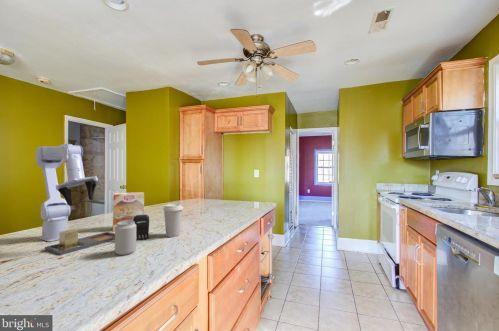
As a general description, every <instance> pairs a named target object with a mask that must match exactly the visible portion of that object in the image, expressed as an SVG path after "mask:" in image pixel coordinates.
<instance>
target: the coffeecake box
mask: <svg viewBox="0 0 499 331" xmlns="http://www.w3.org/2000/svg"><path fill="white" fill-rule="evenodd" d="M112 195H113V198H112V202H113V204H112V232H115V227H116V226H117V223H119V222H123V221H133V217H134V216H135V215H141V214H145V192H144V191H141V192H140V191H139V192H137V191H136V192H116V193H115V192H114V193H113V194H112Z"/></svg>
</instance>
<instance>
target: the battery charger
mask: <svg viewBox="0 0 499 331" xmlns="http://www.w3.org/2000/svg"><path fill="white" fill-rule="evenodd" d="M133 221H134V222H135V224H136V241H140V240H141V241H142V240H148V239H149V237H150V236H149V235H150V216H149V214H147V213H144V214H141V215H135V216H134V217H133Z"/></svg>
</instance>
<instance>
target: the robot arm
mask: <svg viewBox="0 0 499 331" xmlns="http://www.w3.org/2000/svg"><path fill="white" fill-rule="evenodd" d="M83 156H84V149H83V147H82V145H75V144H74V145H73V144H72V143H62V144H60V145H58V146H52V145H50V146H48V145H47V146H38V147H37V148H36V150H35V161H36V164H37V165H36V166H37V167H39V168H40V169H41V170H42V175H43V179H44V180H43V181H44V185H45V186H44V188H45V192H46V198H47V199H46V200H45V201H44V202H42V203H41V205H40V218H41V220H43V223H42V224H41V228H42V229H41V231H42V232H41V237H39V240H42V241H46V242H54V241H59V233H60V232H62V231H66V220H67V219H68V217H69V216H70V215H71V211H72V210H71V206H73V201H72V189H71V188H74V187H78V186H82V185H85V186H86V190H87V196H88V200H90V201H92V200H94V194H95V189H96V187H97V185H98V184H97V183H98V182H99V179H98V176H96V175H93V176H87V177H86V175H85V172H84V170H85V169H84V166H83V165H84V164H83ZM63 162H64V163H65V170H66V174H67V181H65V182H63V183H60V184H59V182H58V176H57V171H56V170H57V168H59V167H61V165H62V164H63ZM96 182H97V183H96ZM61 196H62V197H63V198H62V197H61Z"/></svg>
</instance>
